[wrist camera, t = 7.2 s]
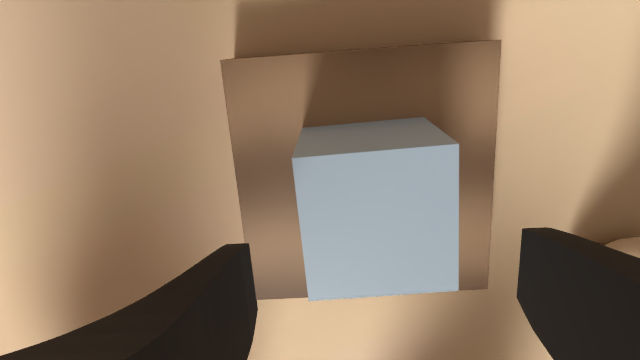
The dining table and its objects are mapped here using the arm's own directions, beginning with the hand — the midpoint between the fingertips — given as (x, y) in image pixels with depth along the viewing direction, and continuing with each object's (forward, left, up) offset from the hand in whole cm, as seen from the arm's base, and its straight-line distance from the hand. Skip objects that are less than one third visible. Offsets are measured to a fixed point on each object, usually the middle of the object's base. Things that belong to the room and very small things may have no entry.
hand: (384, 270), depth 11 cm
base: (0, 0, -10) cm, 10 cm away
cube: (0, 0, -7) cm, 7 cm away
